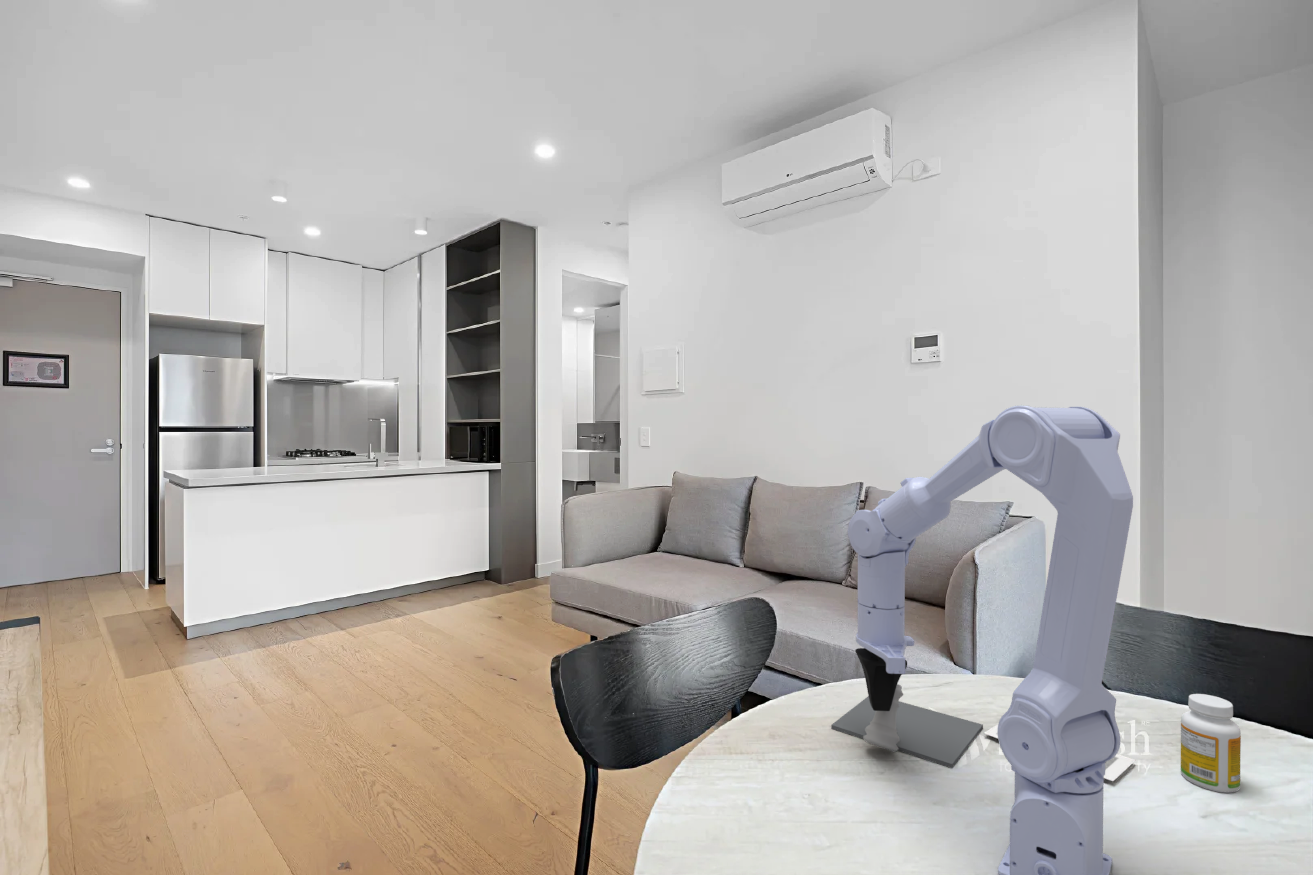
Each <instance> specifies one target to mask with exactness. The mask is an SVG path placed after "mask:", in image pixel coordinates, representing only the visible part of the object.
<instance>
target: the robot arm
mask: <svg viewBox="0 0 1313 875" xmlns="http://www.w3.org/2000/svg"><path fill="white" fill-rule="evenodd" d="M1120 440H1121V433H1119V432H1118V430H1116V428H1114V427H1113V425H1111V424H1110V423H1109V422H1108V421H1107V420H1106V419H1105V418H1104V417H1103V416H1102V415H1101V414H1100V413H1098V411H1097V412H1096V411H1095V410H1094V409H1091V408H1089V407H1085V406H1069V407H1047V406H1046V407H1042V406H1041V407H1040V406H1039V407H1036V406H1035V407H1034V406H1030V405H1022V404H1021V405H1014V406H1010V407H1008V408H1006V409H1004V410H1002V411H1001V412H1000V413H999V414H998V415H997V416H996V417H995V418H994V419H992V420H989V421H988V422H985V423H984V424H982V425H981V428H980V432H979V433H978V435H977V436H976V437H975V438H974V439H973V440H972V441H971V442H970V443H968V444H967V445H965V447H963V448H962V449H961V450H960V451H959V452H958V453H957V454H955V456H953V457H952V458H951V459H950V460H949V461H948V462H947V463H946V464H944V465H943V466H942V467H941V468H939V469H938V470H937V471H936V472H935V473H934V474H933V475H931V477H930V478H929V477H925V476H916V477H905V478H904V479H903V480H902V481H901V482H900V486H901V487H900V488H899V489H898V490H896V491H895V492H894V493H892V494H891V495H890V496H888V498H881V499H880V500H878V502H877V505H876V506H875V508H874V509H872V510H870V509H859V510H856V511H855V513H854V514H853V515H852V517H851V518H850V520H849V522H848V526H847V537H848V540H849V544H850V546H851V547H852V549H853V551H854V552H855V553H856V554H857V632H856V634H855V642H856V644H857V645H859V646H860V647H858V648H856V649H855V650H854V652H855V654H856V655H857V658H858V659H859V662H860V665H861V668H862V671H863V675H864V677H865V678H864V679H865V684H866V689H867V697H868V696H869V700H870V704H871V707H872V708H873V710H874V711H890V709H891V705H892V702H893V698H894V693H895V690H896V686H897V684H898V683H899V681H900V679H901V677H902V675H905V674H906V669H907V667H908V660H906V657H905V652H906V648H907V647H913V646H915V639H913V637H912V636H911V635H910V636H909V635H905V630H906V629H905V628H906V627H905V624H906V623H905V618H906V617H905V615H906V614H905V613H906V612H905V610H906V608H905V607H906V604H905V603H906V602H905V600H906V599H905V597H906V595H905V594H906V593H905V592H906V591H905V590H906V589H905V588H906V586H905V585H906V567H907V566H908V564H909V555H910V553H911V551H912V549H913V548H914V547H915V544H916V540H917V538H918V537H919V536H921V535H922V534H924V533H925V532H927V531H928V530H930V529H931V528H932V527H934V526H936V525H937V524H939V523H940V522H942V521H943V520H945V519H946V518H947V517H948V516H949V515H950V513H951V507H952V506H951V502H953V501H955V499H958V498H959V497H960V496H962V495H964V494H965V493H967V492H968V491H971V490H972V489H974V488H976V487H978V486H979V485H980V484H982V483H984V482H985V481H987V480H989V479H990V478H992V477H994V476H995V475H997V474H999V473H1000V472H1002V471H1004V470H1007V471H1009V472H1010V473H1011V474H1013V475H1015V476H1016V477H1017V478H1019V479H1020V480H1022V481H1023V482H1025V483H1026V484H1028V485H1029V486H1031V487H1033V489H1035V490H1037V491H1038V492H1039V493H1041V494H1042V495H1043V496H1044V497H1045V499H1047V501H1048V502H1049V503H1050V504H1051V505H1052V506H1053V508H1055V510H1056V511H1057V515H1056V523H1055V528H1054V533H1053V534H1054V536H1053V540H1052V548H1051V554H1050V560H1049V566H1048V572H1047V579H1046V585H1045V590H1044V592H1045V593H1044V598H1043V603H1042V604H1043V605H1042V610H1041V614H1040V615H1041V616H1040V621H1039V622H1040V623H1039V629H1038V636H1037V642H1036V647H1035V654H1034V660H1033V664H1032V665H1033V666H1032V669H1031V671H1029V673H1028V674H1027V675H1026V676H1025V678H1024V679H1023V680H1021V682H1020V683H1019V685H1018V686H1017V687H1016V688H1015V690H1013V693H1012V697H1011V701H1010V702H1011V703H1010V705H1009V708H1008V709H1007V711H1005V712H1004V713H1003V715H1001V717H1000V719H999V721H998V723H997V725H998V738H997V739H998V743H999V746H1000V749H1001V751H1002V754H1003V755H1004V757H1005V759H1006V760H1007V762H1008V764H1009V765H1010V766H1011V767H1010V769H1011V771H1012V772H1013V773H1014V802H1013V805H1012V807H1011V810H1010V814H1009V843H1008V846H1007V848H1006V850H1005V853H1004V855H1003V857H1002V859H1001V860H1000V863H999V865H998V867H997V874H998V875H1111V870H1112V866H1113V858H1112V856H1110V855H1109V854H1107V853H1104V782H1105V781H1104V780H1105V778H1104V775H1105V762H1107V761H1109V760H1111V759H1112V758H1114V757H1115V755H1116V754H1119V750H1120V749H1121V748H1120V747H1121V733H1120V730H1119V727H1118V724H1117V720H1116V712H1115V711H1116V705H1117V698H1116V697H1115V696H1114V695H1113V693H1112V692H1110V691H1109V690H1108V689H1107V688H1105V686H1104V685H1103V684H1102V683H1103V677H1104V672H1105V671H1104V670H1105V666H1106V661H1107V654H1108V649H1109V642H1110V638H1111V632H1112V626H1113V620H1114V616H1115V615H1114V614H1115V609H1116V604H1117V598H1118V593H1119V592H1118V591H1119V587H1120V582H1121V577H1122V576H1121V574H1122V570H1123V565H1124V559H1125V553H1126V547H1127V541H1128V537H1129V530H1130V525H1131V520H1132V515H1133V514H1132V513H1133V508H1134V495H1133V492H1132V489H1131V487H1130V483H1129V480H1128V478H1127V474H1126V472H1125V469H1124V466H1123V463H1122V460H1121V458H1120V454H1119V453H1118V450H1119V444H1120ZM861 647H862V648H861Z"/></svg>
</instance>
